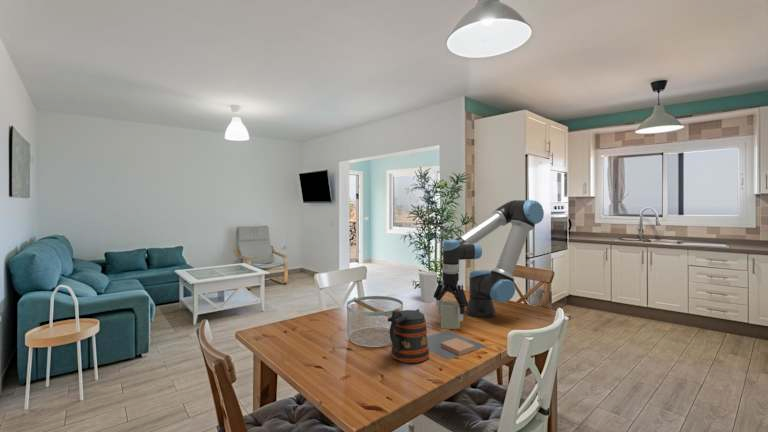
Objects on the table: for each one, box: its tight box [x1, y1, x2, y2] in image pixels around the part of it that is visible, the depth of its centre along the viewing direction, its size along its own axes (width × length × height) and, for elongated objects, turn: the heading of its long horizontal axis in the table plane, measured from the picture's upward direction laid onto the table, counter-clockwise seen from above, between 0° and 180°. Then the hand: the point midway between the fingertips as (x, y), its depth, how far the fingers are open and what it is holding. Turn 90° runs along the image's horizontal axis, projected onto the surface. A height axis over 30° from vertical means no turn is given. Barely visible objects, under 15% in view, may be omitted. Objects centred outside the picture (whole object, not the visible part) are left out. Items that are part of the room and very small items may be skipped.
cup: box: [418, 270, 438, 303], centre depth 218 cm, size 11×10×17 cm
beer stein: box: [387, 308, 430, 364], centre depth 138 cm, size 19×15×20 cm
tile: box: [441, 338, 476, 357], centre depth 144 cm, size 2×10×9 cm
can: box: [440, 300, 461, 330], centre depth 171 cm, size 9×9×12 cm
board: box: [427, 329, 487, 361], centre depth 149 cm, size 22×22×1 cm
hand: (449, 316), depth 171 cm, fingers open, 13 cm apart
